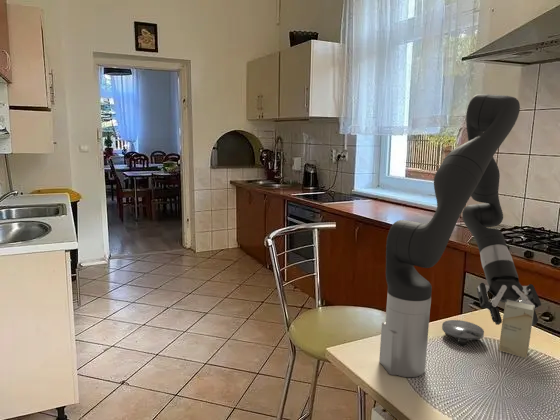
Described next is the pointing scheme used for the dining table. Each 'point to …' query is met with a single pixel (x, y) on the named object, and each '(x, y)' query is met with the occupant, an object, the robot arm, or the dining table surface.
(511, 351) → the skincare box
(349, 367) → the dining table surface
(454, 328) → the dark gray bowl
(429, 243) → the robot arm
